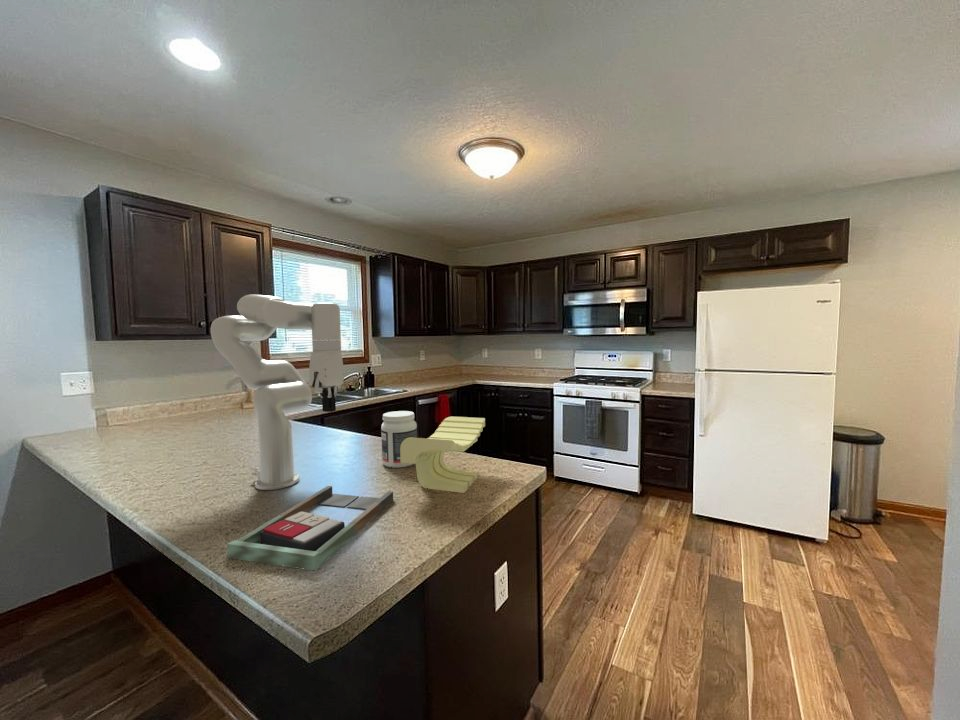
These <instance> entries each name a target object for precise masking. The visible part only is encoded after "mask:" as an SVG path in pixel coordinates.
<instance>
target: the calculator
mask: <svg viewBox="0 0 960 720" xmlns="http://www.w3.org/2000/svg"><path fill="white" fill-rule="evenodd" d="M344 527H346V526H345V522H344V521H342V520H338V519H334V518H329V517H328V516H324V515H319V514H315V515H314V513H310V512H307V511H306V512H299V513H297V514H295V515H293V516H290V517H288V518H286V519H285V521H279V522H277V523H275V524H273V525H271V526H268V527H266V528H264V529H263V531H261V532H260V534H261V541H260V544H261V543H262V544H265V545H272V546H279V547H287V548H294V549H301V550H309V551H316V550H318V549H319V548H320V547H321V546H322V545H324V544H325V543H326V542H327V541H329V540H330V539H331V538H332V537H333V536H335V535H336V534H337V533H338V532H339V531H341V530H342V529H343V528H344Z"/></svg>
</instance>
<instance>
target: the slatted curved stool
mask: <svg viewBox="0 0 960 720" xmlns="http://www.w3.org/2000/svg"><path fill="white" fill-rule="evenodd" d="M485 427H486V418H485V417H471V416H470V417H468V416H448V417H445V418H444V419H443V420H442V421H441V422H440V424H439V425H438V427H437V428H436V430H435V431H434V433H432V434H431V435H430V436H429V437H427V438H425V437H417V438H413V437H409V438H406V439H405V440H404V441H403V442H402V443H401V446H400V462H401V463H410V464H413V465H415V469H416V477H417V478H416V479H417V480H418V483H419V484H420V486H421V487H422V488H423V489H427V488H428V489H429V490H436V491H445V492H454V493H460V494H461V493H463V494H464V493H466V491H467V490H468V489H469V488H470V487H471V486H472V485H473V484H474V482H476V481H477V479H478V478H479V476H478V472H474V471H473V472H472V471H466V470H461V469H460V470H459V469H456V468H452V467H450V466H448V465H447V464H446V463H445V461H444V454H445V452H454V453H458V452H459V453H465V451H467V450H468V449H469V448H470V447H472V446H473V444H475V443H476V442H478V438H479V437H480V436H481V433H482V432H483V428H485ZM472 483H473V484H472ZM471 484H472V485H471ZM428 489H427V490H428Z"/></svg>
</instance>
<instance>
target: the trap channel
mask: <svg viewBox="0 0 960 720" xmlns="http://www.w3.org/2000/svg"><path fill="white" fill-rule="evenodd" d="M393 502H394V492H393V491H387V492H386V493H384V494H383V495H382V496H380V497H371V496H364V495H363V496H361V495H360V496H358V495H352V494H351V495H349V494H339V493H333V486H331V485H327V486H325V487H324V488H321V489H320V490H319V491H317V492H315V493H314V494H312V495H310V496H308V497H307V498H305V499H304V500H302V501H300V502H297V504H295V505H293V506H292V507H289V508H288V509H287V510H285V511H284V512H282V513H280V514H279V515H277V516H275V517H273V518H272V519H270V520H269V521H267V522H265V523H264V524H262V525H260V526H258V527H257V528H255V529H254V530H251V531H250V532H249V533H247V534H245V535H244V536H242V537H240V538H238V539H237V540H234V539H233V540H231V541H229V542H228V543H226V547H227V558H228V559H233V560H240V561H247V562H253V563H254V562H255V563H259V562H261V564H266V563H268V565H273V564H275V565H274V566H279V565H284V566H283V567H286V566H289V568H293V567H298V568H297V569H299V568H304V569H303V570H306V569H309V570H308V571H312V570H315V571H317V570H318V567H319V566H320V565H321V564H322V565H324V563H326V562H327V561H328V560H329V559H330V558H331V557H332V556H333V555H334V554H336V553H337V551H339V550H340V549H341V548H342V547H343V546H345V545H346V543H348V542H349V541H350V540H351V539H352V538H353V537H354V536H356V535H357V534H358V533H359V532H360V531H362V529H363V528H364V527H365V526H367V525H366V524H367V523H368V522H369V523H370V522H371V521H372V520H373V519H374V518H376V517H377V516H378V515H379V514H380V513H381V512H382V511H383V510H384V509H386V506H390V504H391V503H393ZM317 505H318V506H327V507H336V508H337V507H338V508H345V509H346V508H348V509H355V510H363V511H362V512H361V513H360V514H359V515H357V516H356V517H355V518H354V519H352V520H351V522H349V523H348V524H346V526H345V527H344V528H343V529H342V530H341V531H339V532H338V533H337V534H336V535H335V536H333V537H332V538H331V539H330V540H329V541H327V542H326V543H325V544H324V545H322V546H321V547H320V548H319V549H318V550H316V551H309V550H301V549H294V548H287V547H279V546H272V545H265V544H261V534H260V532H261V531H263V529H264V528H266V527H268V526H271V525H273V524H275V523H277V522H279V521H285V519H286V518H288V517H290V516H293V515H295V514H297V513H299V512H306V513H307V512H308V511H309V510H311V509H313V508H314V507H316V506H317ZM364 509H365V510H364ZM377 514H378V515H377ZM376 515H377V516H376ZM369 523H368V524H369ZM359 530H360V531H359ZM358 531H359V532H358ZM357 532H358V533H357ZM348 540H349V541H348ZM347 541H348V542H347ZM329 557H330V558H329ZM328 558H329V559H328ZM327 559H328V560H327ZM322 565H321V566H322ZM321 566H320V567H321ZM320 567H319V568H320Z"/></svg>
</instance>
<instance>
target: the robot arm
mask: <svg viewBox="0 0 960 720" xmlns="http://www.w3.org/2000/svg"><path fill="white" fill-rule="evenodd" d="M236 310H237V311H238V313H239V315H224V316H219V317H217V318H216V319H213V321H212V322H211V325H210V336H211V337H210V338H211V340H212V343H213V345H214V346H215V349H216V350H217V351H218V352H219V353H220V355H221V356H222V357H223V358H224V359H226V360H227V361H228V363H229V364H230V365H231V366H232V367H233V370H234V371H235V372H236V374H237V375H238V377H239V378H240V379H241V381H242V382H243V384H244V385H245V386H246V387H247V388H248V389H250V390H252V391H254V393H253V396H252V404H253V408H254V411H255V416H256V423H257V435H258V436H257V437H258V454H259V455H258V456H259V459H258V460H259V467H256V468H255V469H254V470H253V471H252V472H251V476H253V477H257V480H256V481H255V482H254V488H255V489H257V490H260V491H262V490H263V491H274V490H280V489H284V488H288V487H291V486H293V485H295V484H296V483H298V482H299V481H300V475H299V474H298V473H296V472H295V467H294V445H293V440H294V439H293V427H292V423H291V421H290V420H289V419H288V418H287V416H286V415H285V413H290V412H296V411H301V410H304V409H306V408H308V407H309V406H310V404H312V399H313V394H312V393H313V392H314V393H317V394H319V395H320V398H321V400H322V402H321V403H322V405H321V406H322V412H323V413H324V412H325V413H331V412H335V411H336V410H337V408H336V397H337V394H338V391H339V390H340V389H341V388H342V384H344V379H345V375H344V374H345V372H344V362H343V360H344V359H343V355H342V340H341V339H342V337H341V309H340V306H339V305H338V304H337V303H334V302H315V303H302V302H293V301H292V302H291V301H285V300H284V299H282V297H279V296H273V295H263V294H256V293H255V294H246V295H244V296H242V297H240V298H239V300H238V301H237V304H236ZM277 329H283V330H305V331H308V330H309V331H311V341H312V344H311V345H312V346H311V347H312V352H311V353H310V358H309V367H308V368H309V369H308V371H309V373H308V374H309V375H308V383H307V382H306V380H305V379H304V378H303V377H302V375H301V374H300V372H298V370H297V368H295V367H294V365H293V364H292V363H291V362H289V361H286V360H284V359H283V360H282V359H272V360H270V359H269V360H268V359H264V358H262V356H261V355H260V354H259V352H258V351H257V350H256V349H255V348H254V347H253V346H251V345H249V344H247V343H245V342H257V341H258V342H260V341H266V340H267V339H269V338H270V337H271V336H272V335H273V334H274V333H275V331H276V330H277ZM310 387H311V388H314V389H313V390H314V391H313V392H312V390H311V388H310Z"/></svg>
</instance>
